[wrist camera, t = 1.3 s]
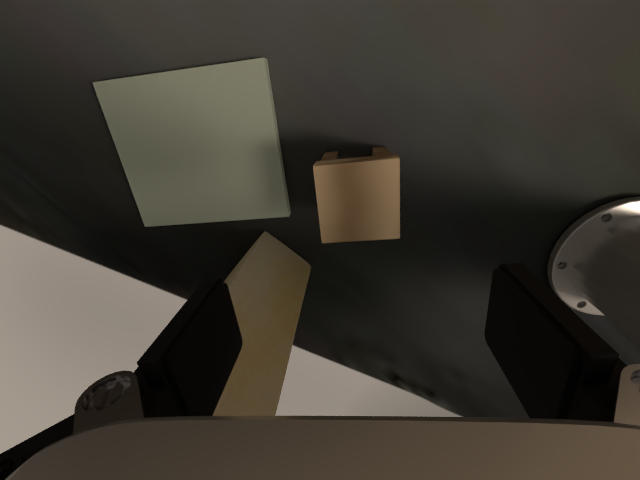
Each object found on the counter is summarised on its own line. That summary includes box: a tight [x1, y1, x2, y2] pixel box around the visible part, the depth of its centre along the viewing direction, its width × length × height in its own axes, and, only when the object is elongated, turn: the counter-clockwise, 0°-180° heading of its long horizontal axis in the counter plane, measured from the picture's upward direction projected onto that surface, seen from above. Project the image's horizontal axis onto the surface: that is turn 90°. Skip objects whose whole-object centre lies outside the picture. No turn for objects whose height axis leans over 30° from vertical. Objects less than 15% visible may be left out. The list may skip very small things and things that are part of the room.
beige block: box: [213, 231, 311, 416], centre depth 25 cm, size 8×7×21 cm
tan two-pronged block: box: [313, 146, 400, 243], centre depth 26 cm, size 6×6×8 cm
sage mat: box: [92, 58, 291, 227], centre depth 29 cm, size 16×14×1 cm
